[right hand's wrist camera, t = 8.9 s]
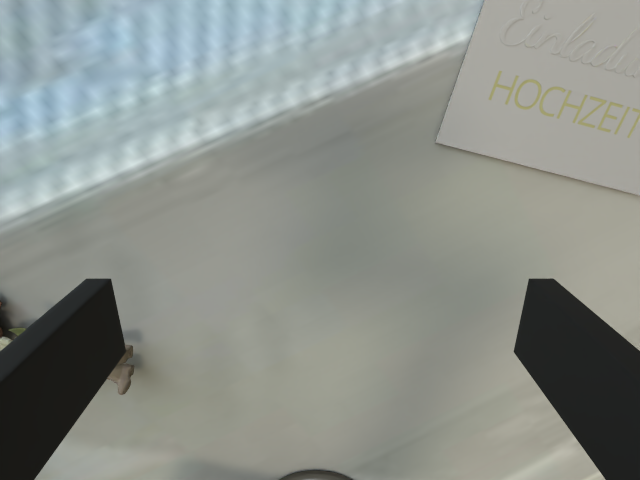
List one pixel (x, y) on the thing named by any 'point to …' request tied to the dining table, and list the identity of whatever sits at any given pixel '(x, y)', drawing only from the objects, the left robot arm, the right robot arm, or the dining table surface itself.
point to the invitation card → (553, 89)
